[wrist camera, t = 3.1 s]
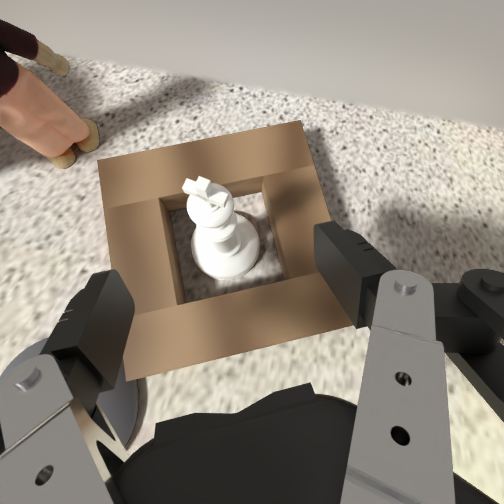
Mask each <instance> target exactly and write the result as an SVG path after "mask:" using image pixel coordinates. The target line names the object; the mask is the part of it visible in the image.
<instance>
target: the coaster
mask: <svg viewBox="0 0 504 504" xmlns="http://www.w3.org/2000/svg"><path fill="white" fill-rule="evenodd" d="M47 340H48V338H46V339H43V340H41V341H39V342H37V343H35V344H33V345H32V346H30V347H28V348H27V349H25V350H24V351H23V352H21V353H20V354H19V355H18V356H17V357H16V358H15V359H14V360H13V361H12V362H11V363H10V364H9V365H8V367H7V368H6V369H5V370H4V372H3V373H2V375H1V376H0V383H1V382H2V381H3V379H4V378H5V377H6V376H7V375H8V374H9V373H10V372H11V371H12V370H13V369H14V368H16V367H17V366H18V365H20V364H21V363H23V362H25V361H26V360H28V359H30V358H32V357H35V356H38V355H39V354H40V352H41V351H42V349H43V347H44V345H45V344H46V342H47ZM97 403H98V404H99V405H100V406H101V408H102V410H103V411H104V413H105V415H106V417H107V418H108V420H109V422H110V424H111V426H112V427H113V429H114V431H115V433H116V434H117V436H118V438H119V440H120V442H121V443H122V445H123V447H124V448H125V446H126V444H127V442H128V441H129V439H130V437H131V434H132V432H133V429H134V426H135V423H136V419H137V414H138V407H139V393H138V385H137V380H136V379H135V380H131V381H127V382H126V376H125V368H124V361H123V358H122V362H121V365H120V369H119V373H118V377H117V380H116V384H115V388H114V389H113V390H109V391H105V392H101V393H99V395H98V399H97Z"/></svg>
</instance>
